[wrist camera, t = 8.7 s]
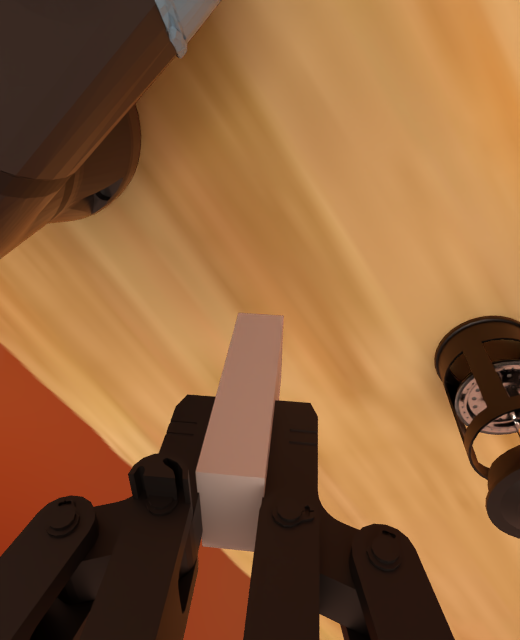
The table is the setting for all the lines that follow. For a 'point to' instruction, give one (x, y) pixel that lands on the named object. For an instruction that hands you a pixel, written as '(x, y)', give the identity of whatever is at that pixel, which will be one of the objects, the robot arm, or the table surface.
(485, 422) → the french press
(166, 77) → the table surface
